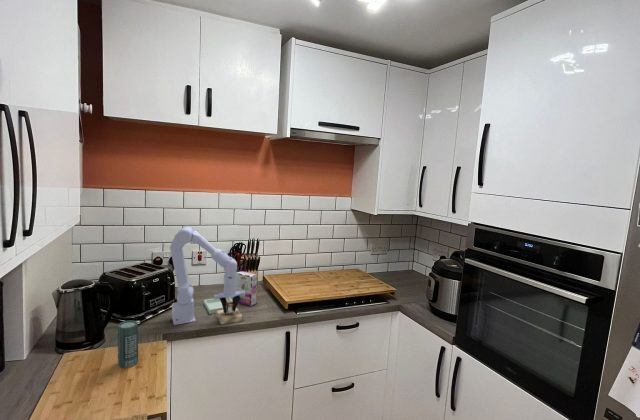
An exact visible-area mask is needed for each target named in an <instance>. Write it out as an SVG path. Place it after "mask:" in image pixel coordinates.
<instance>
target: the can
mask: <svg viewBox="0 0 640 420" xmlns="http://www.w3.org/2000/svg"><path fill="white" fill-rule="evenodd" d="M138 363H139V322H138V321H136V320H125V321H122V322H120V323H118V325H117V366H118V367H119V368H122V369H123V368H124V369H127V368H128V369H129V368H131V367H134V366H136V365H137V364H138Z"/></svg>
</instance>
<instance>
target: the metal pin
mask: <svg viewBox="0 0 640 420" xmlns="http://www.w3.org/2000/svg"><path fill="white" fill-rule="evenodd" d="M232 301H233V300H232ZM232 301H228V302H227V304H226V316H227V315H232V313H233V305H234V302H232Z"/></svg>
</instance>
